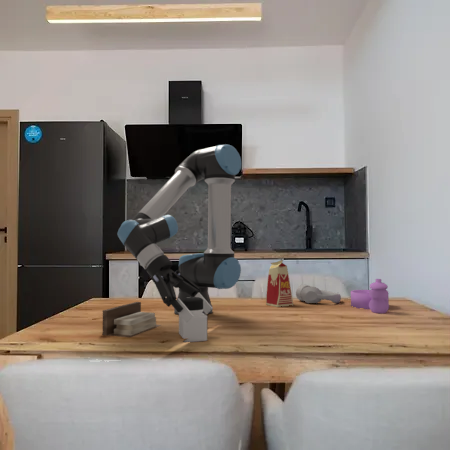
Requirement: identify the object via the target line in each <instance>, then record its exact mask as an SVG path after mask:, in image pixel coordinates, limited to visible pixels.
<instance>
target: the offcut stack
mask: <svg viewBox="0 0 450 450" xmlns="http://www.w3.org/2000/svg"><path fill="white" fill-rule="evenodd" d="M114 324H117V328H115V329H114V334H121V335H134V334H136V333H139V332H142V331H144V330H147V329H149V328H152V327H155V326H156V325H157V317H156V312H145V311H141V312H137V313H134V314H131V315H127V316H124V317H120V318H117V319H114Z"/></svg>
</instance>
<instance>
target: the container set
mask: <svg viewBox="0 0 450 450" xmlns="http://www.w3.org/2000/svg"><path fill="white" fill-rule="evenodd" d="M374 280H375V281H374V282H371V283H370V284H369V288H370V289H353V290H350V307H352V306H353V307H352V308H354V307H356V308H355V309H360V308H364V309H363V310H370V311H371V312H372V313H376V314H386V313H387V312H388V311H389V309H390V305H389V301H390V300H389V299H390V298H389V291H388V290H387V289H388V284H386V283H385V282H382V279H381V278H375V279H374Z"/></svg>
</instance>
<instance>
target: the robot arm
mask: <svg viewBox="0 0 450 450" xmlns="http://www.w3.org/2000/svg"><path fill="white" fill-rule="evenodd" d="M241 170H242V158H241V156H240V153H239V152H238V150H237V148H235V147H234V146H233V145H230V144H226V143H225V144H217V145H215V146H210V147H205V148H199V149H197V150H195V151H193V152H192V153H190V155H189V156H187V157H186V158H185V159H184V160H183V161H182V162H181V163H180V164H179V165H178V166H177V167H176V168H175V170H174V174H173V175H172V176H171V177H170V178H169V179H168V180H167V182H165V184H164V185H162V187H161V188H160V189H159V190H158V191H157V192H156V193H155V194H154V196H153V197H152V198H151V199H150V200H149V201H147V203H146V204H145V205H144V206H143V207H142V208H141V209H140V210H139V211H138V212H137V214H135V216H134V217H133V218H132V219H128V220H125V221H123V222H122V223H121V224H120V227H119V228H118V231H117V233H116V234H117V237H118V238H119V240H120V242H121V243H122V245H123V246H124V247H125V248H126V250H128V252H130V253H131V255H132V256H133V257H134V258H135V259H136V260H137V262H138V263H139V266H141V267H142V268H143V269H144V270H145V271H146V272H147V274H148V275H149V277H151V281H152V282H153V283H154V285H155V287H156V290H157V292H158V294H159V296H160V298H161V301H162V302H163V303H164V304H165V305H166V307H170V306H172V308H173V309H174V311H173V313H174V314H176V315H178V316H179V315H180V316H181V317H182V318H183V319H184V321H185V322H186V323H188V322H189V321H190V320H191V318H192V317H193V316H194V315H193V314H192V313H191V312H190V311H189V309H188V308H187V307H186V306H185V305H184V304H183V299H184V298H187V297H200V298H202V299H203V312H202V313H204V314H205V315H208V314H212V313H213V309H214V308H213V305H212V301H211V298H210V294H209V288H212V289H213V288H214V289H218V290H223V289H225V290H228V289H231V288H233V287H234V286H235V285H236V284H237V283H238V281H239V279H240V278H241V277H240V276H241V273H242V268H241V264H240V262H239V260H238V259H237V258H235V251H233V250H232V248H231V234H232V233H231V225H232V224H231V223H232V222H231V214H232V213H231V212H232V211H231V207H232V202H231V201H232V199H231V198H232V197H231V195H232V185H233V183H235V181H236V175H238V174H239V172H240V171H241ZM202 180H204V182H205V183H206V185H207V186H208V193H207V194H208V196H207V198H208V201H207V204H208V205H207V207H208V208H207V218H208V219H207V248H206V249H205V250H204V252H201V253H199V252H198V253H190V254H185V255H184V254H183V255H181V256H179V260H178V269H177V270H175V271H174V270H173V269H172V266H173V262H172V261H171V260H170V258H169V257H168V256H167V255H166V254H165V253H164V251H163V250H162V249H161V248H160V246H158V245H157V244H159V243H161V242H164V241H166V240H167V239H168V240H169V239H170V238H172V237H174V236H175V235H176V234H177V233H178V231H179V225H178V221H177V220H176V218H175V217H174V216H172V215H171V214H167V213H168V212H169V210H170V209H171V208H172V207H173V206H174V205H175V204H176V203H177V201H179V199H180V198H181V197H183V195H184V193H186V192H187V190H188V189H189V188H191V187H194V186H195V185H196V184H197V183H198V182H200V181H202ZM175 288H176V289H178V295H176V292H175Z"/></svg>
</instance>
